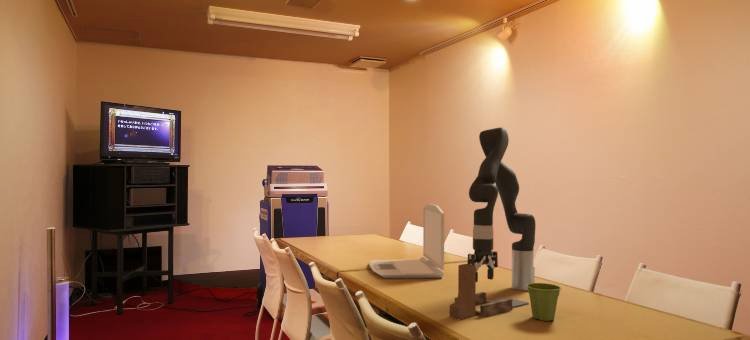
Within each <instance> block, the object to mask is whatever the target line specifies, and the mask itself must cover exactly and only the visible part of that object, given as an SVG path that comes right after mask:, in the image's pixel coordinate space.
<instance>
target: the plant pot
mask: <svg viewBox="0 0 750 340" xmlns="http://www.w3.org/2000/svg"><path fill="white" fill-rule="evenodd" d="M526 287H527V288H528V295H529V301H530V302H529V303H530V307H531V315H532V318H534V319H535V320H536V319H537V320H539V321H542V322H543V321H544V322H545V321H547V322H549V321H553V320H555V317H556V309H557V304H558V300H559V299H558V298H559V296H560V292H561V290H562V287H561V286H559V285H557V284H551V283H545V282H535V283H529V284H526Z"/></svg>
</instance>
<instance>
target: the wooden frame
mask: <svg viewBox="0 0 750 340" xmlns="http://www.w3.org/2000/svg"><path fill="white" fill-rule="evenodd" d="M457 297H458V296H457ZM457 297H454V302H455V301H456V300H457ZM508 298H509V299H504V300H500V301H495V302H492V301H490V300H488V299H487V292H484V291H482V292H477V293H476V303H475V306H479V310H477V309H475V316H478V315H479V316H478V317H481V316H482V318H486V316H487V317H490V315H491V316H494V315H498V314H502V313H506V312H510V311H513V308H512V299H513V298H512V299H510V298H511V297H508Z"/></svg>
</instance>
